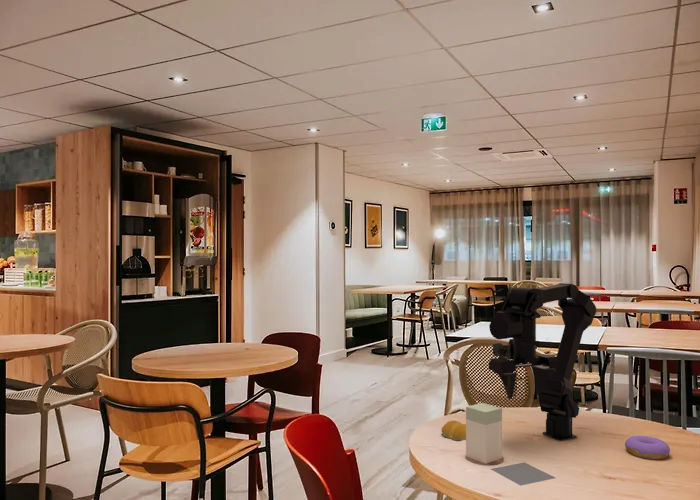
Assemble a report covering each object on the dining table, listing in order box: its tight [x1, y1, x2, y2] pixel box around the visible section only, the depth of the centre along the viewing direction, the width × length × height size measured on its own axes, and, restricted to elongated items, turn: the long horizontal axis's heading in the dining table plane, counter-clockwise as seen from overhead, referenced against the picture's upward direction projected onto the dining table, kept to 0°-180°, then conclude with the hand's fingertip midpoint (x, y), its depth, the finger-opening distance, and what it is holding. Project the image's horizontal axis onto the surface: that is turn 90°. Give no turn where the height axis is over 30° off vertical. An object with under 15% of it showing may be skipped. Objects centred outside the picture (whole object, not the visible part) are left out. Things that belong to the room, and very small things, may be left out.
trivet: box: [465, 455, 505, 466], centre depth 134 cm, size 9×9×1 cm
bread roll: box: [440, 420, 466, 442], centre depth 152 cm, size 8×9×4 cm
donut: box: [624, 435, 671, 460], centre depth 139 cm, size 10×9×5 cm
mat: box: [490, 461, 557, 486], centre depth 125 cm, size 10×10×1 cm
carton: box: [465, 402, 503, 464], centre depth 134 cm, size 6×6×12 cm
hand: (524, 396), depth 143 cm, fingers open, 9 cm apart
